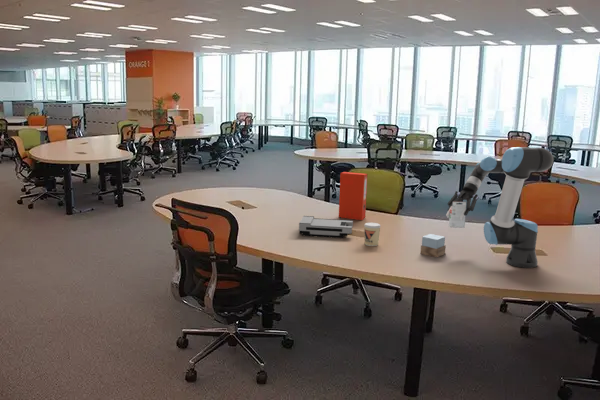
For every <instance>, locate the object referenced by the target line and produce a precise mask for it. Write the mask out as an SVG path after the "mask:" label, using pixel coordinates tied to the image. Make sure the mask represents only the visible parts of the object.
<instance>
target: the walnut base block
mask: <svg viewBox="0 0 600 400" xmlns="http://www.w3.org/2000/svg"><path fill="white" fill-rule="evenodd" d="M446 246H447V245H445V244H444V246H442V247H440V248H438V249H435V248H431V247H426V246H422V244H421V245H420V254H421V255H424V256H429V257H434V258H439V257H441V256H443V255H445V254H446Z"/></svg>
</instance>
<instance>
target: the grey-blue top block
mask: <svg viewBox="0 0 600 400" xmlns="http://www.w3.org/2000/svg"><path fill="white" fill-rule="evenodd" d="M445 240H446V236H443V235H437V234H434V233H428V234H425V235H423V236H422V239H421V245H422V246H426V247H431V248H435V249H438V248H440V247H442V246H444V245H445V243H446V241H445Z"/></svg>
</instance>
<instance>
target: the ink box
mask: <svg viewBox="0 0 600 400" xmlns="http://www.w3.org/2000/svg"><path fill="white" fill-rule="evenodd" d="M456 203H458V204H456ZM466 205H467V201H460V202H453V205H452V209H450V217H449V218H448V227H450V228H455V229H456V228H459V229H460V228H463V229H464V228H465V226H466V216H465V217H464V219H463V220H462V221H461V220H460V216H461V214H462V212H463V210H464V209H466Z"/></svg>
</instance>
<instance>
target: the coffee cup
mask: <svg viewBox="0 0 600 400" xmlns="http://www.w3.org/2000/svg"><path fill="white" fill-rule="evenodd" d="M363 226H364V230H363V231H364V245H365V246H369V247H376V246H378V245H379V241H380V232H381V224H380V223H378V222H366V223H364V225H363Z"/></svg>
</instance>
